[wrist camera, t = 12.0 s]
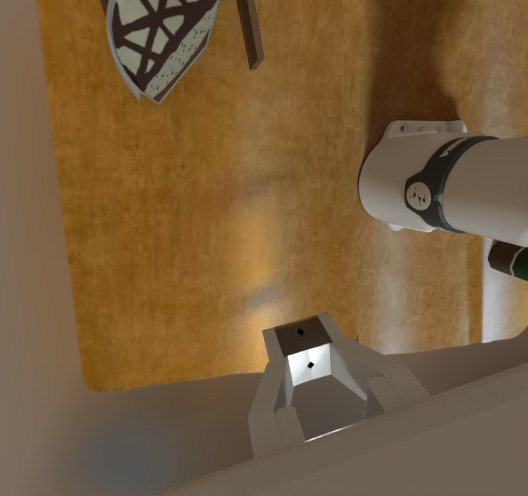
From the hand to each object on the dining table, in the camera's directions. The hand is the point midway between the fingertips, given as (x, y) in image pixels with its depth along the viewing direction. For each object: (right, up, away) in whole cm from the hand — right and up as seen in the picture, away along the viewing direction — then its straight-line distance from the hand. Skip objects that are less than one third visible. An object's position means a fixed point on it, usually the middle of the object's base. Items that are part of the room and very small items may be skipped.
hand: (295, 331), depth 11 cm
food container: (-14, +27, +19) cm, 36 cm away
